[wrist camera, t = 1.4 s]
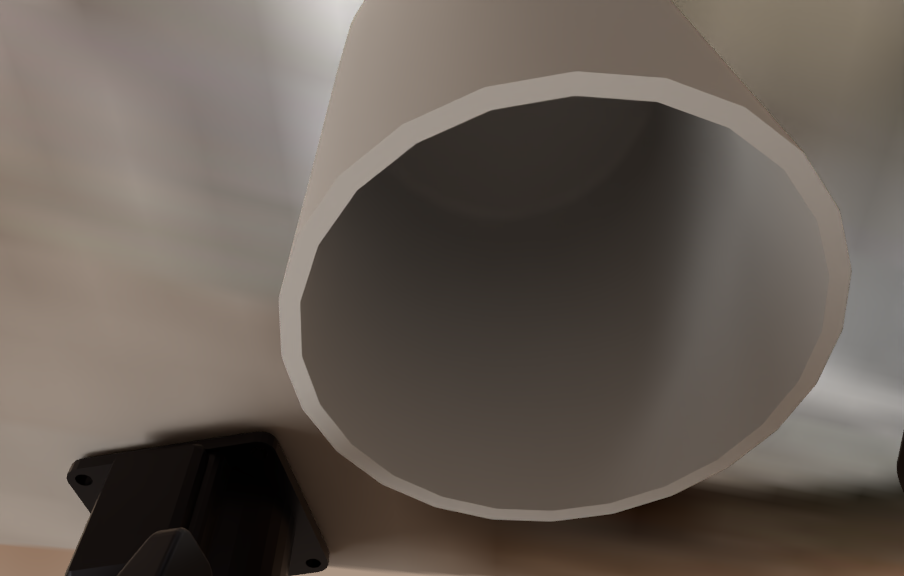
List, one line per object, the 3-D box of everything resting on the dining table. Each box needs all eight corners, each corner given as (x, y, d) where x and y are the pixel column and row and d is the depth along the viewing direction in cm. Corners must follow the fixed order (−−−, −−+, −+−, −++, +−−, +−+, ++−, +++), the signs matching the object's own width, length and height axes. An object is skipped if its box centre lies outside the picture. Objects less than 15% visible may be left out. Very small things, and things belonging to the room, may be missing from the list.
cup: (724, -49, 16) (975, 145, 9) (572, 329, 21) (646, 638, 14) (369, -137, 15) (312, 1, 7) (308, 287, 20) (243, 597, 13)
